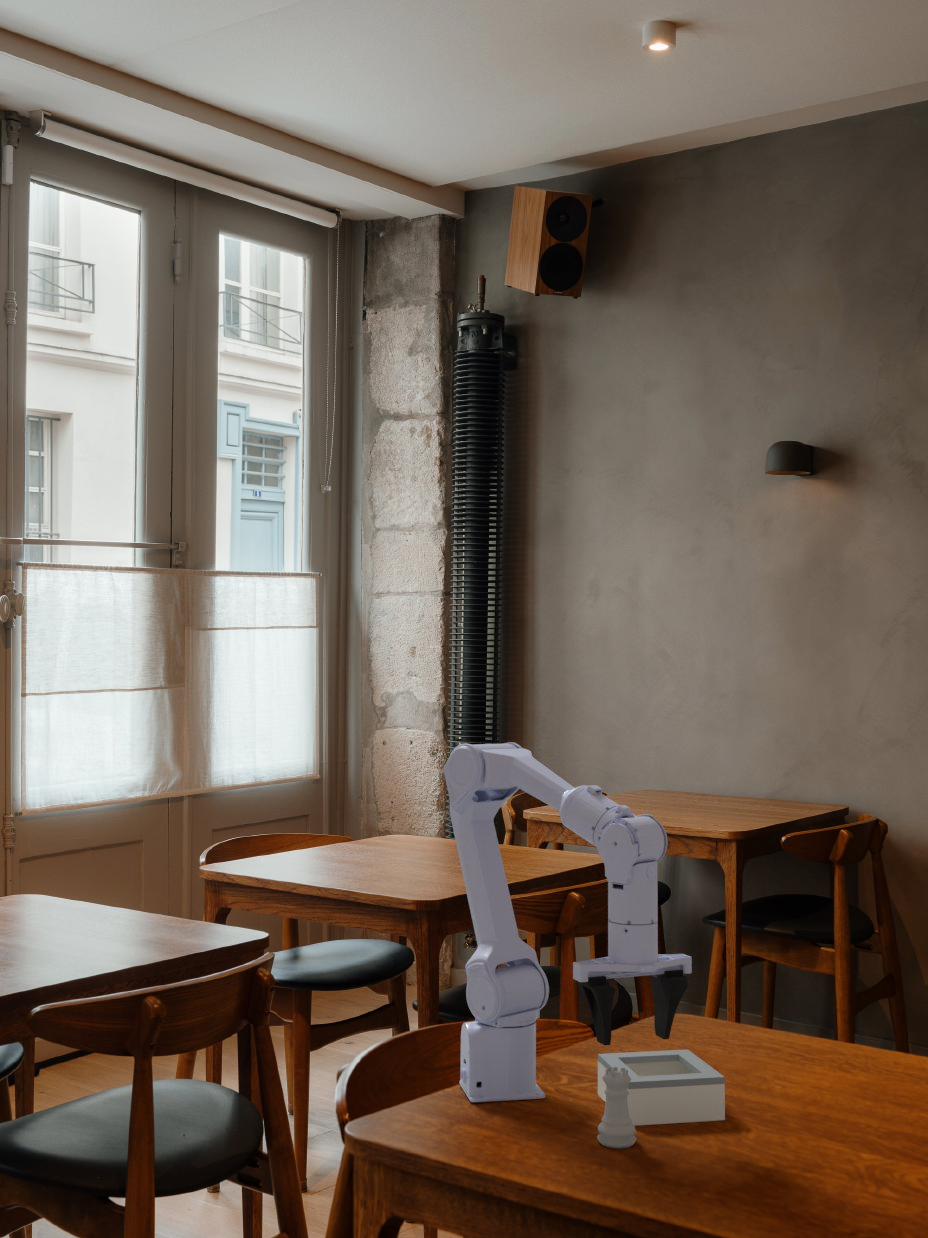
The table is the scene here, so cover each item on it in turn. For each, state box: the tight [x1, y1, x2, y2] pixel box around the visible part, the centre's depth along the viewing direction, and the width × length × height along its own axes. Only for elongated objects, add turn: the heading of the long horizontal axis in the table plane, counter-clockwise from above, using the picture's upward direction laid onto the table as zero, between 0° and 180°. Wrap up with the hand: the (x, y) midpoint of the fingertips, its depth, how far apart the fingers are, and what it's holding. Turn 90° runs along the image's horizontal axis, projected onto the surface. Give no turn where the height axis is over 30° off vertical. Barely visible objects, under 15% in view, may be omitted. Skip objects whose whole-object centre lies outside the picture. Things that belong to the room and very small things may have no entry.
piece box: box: [597, 1048, 726, 1127], centre depth 155 cm, size 12×12×5 cm
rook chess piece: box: [596, 1067, 638, 1150], centre depth 143 cm, size 4×4×8 cm
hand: (633, 1040), depth 146 cm, fingers open, 7 cm apart
